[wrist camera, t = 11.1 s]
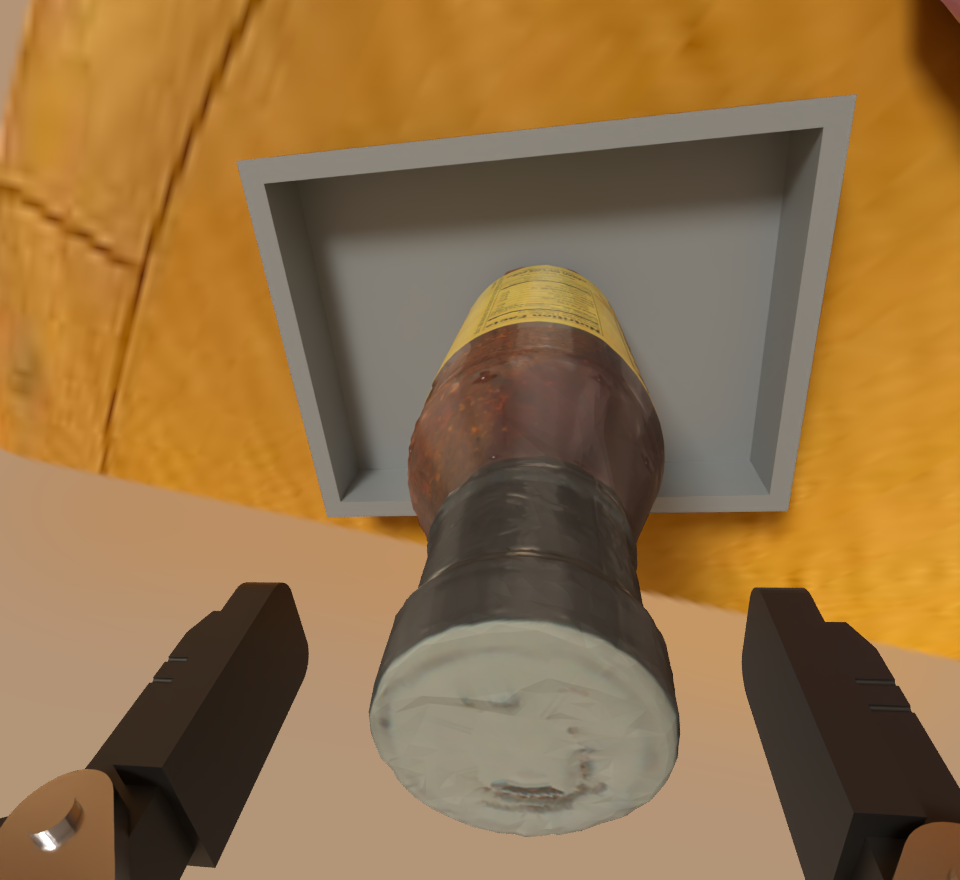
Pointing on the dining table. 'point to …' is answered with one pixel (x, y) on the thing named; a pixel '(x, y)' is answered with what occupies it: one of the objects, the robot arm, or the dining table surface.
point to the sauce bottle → (531, 574)
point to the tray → (571, 245)
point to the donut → (953, 8)
